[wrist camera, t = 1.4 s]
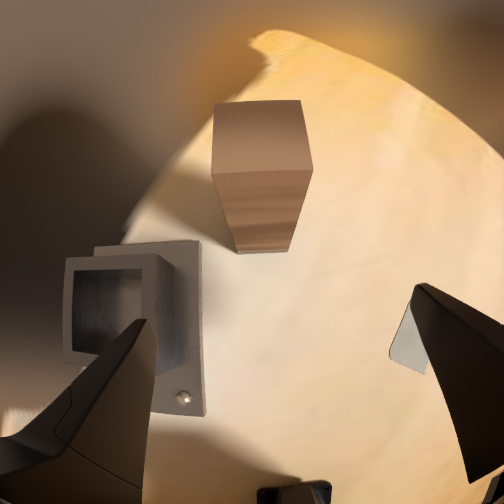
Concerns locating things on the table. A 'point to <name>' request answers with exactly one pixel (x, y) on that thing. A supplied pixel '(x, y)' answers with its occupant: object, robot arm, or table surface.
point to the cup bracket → (141, 313)
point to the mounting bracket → (409, 345)
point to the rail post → (261, 171)
